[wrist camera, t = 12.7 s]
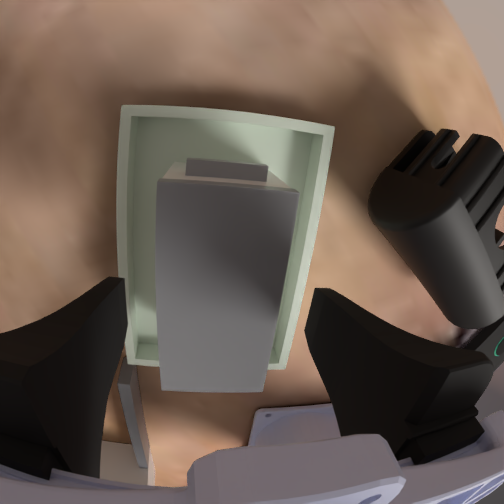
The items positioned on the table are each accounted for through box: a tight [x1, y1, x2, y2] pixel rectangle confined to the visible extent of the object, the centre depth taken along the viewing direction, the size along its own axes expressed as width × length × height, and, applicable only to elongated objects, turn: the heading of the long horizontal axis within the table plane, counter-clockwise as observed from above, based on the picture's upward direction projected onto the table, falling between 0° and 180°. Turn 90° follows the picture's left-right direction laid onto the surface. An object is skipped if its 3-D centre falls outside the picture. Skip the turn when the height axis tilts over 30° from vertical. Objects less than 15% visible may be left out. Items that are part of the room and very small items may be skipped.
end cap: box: [368, 129, 504, 329], centre depth 15 cm, size 10×7×7 cm
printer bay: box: [100, 357, 155, 486], centre depth 19 cm, size 13×16×6 cm
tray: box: [116, 105, 335, 370], centre depth 16 cm, size 10×14×2 cm
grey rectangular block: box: [155, 158, 300, 393], centre depth 14 cm, size 5×10×6 cm, turn 173°
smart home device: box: [464, 315, 504, 372], centre depth 25 cm, size 8×2×20 cm
